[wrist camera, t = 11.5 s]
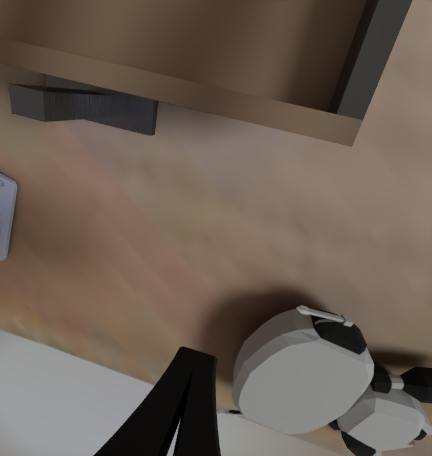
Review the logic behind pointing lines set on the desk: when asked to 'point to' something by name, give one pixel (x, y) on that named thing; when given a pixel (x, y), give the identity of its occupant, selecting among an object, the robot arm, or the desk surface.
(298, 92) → the wooden rimmed tray
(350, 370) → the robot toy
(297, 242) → the desk surface
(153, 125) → the pivot stand
